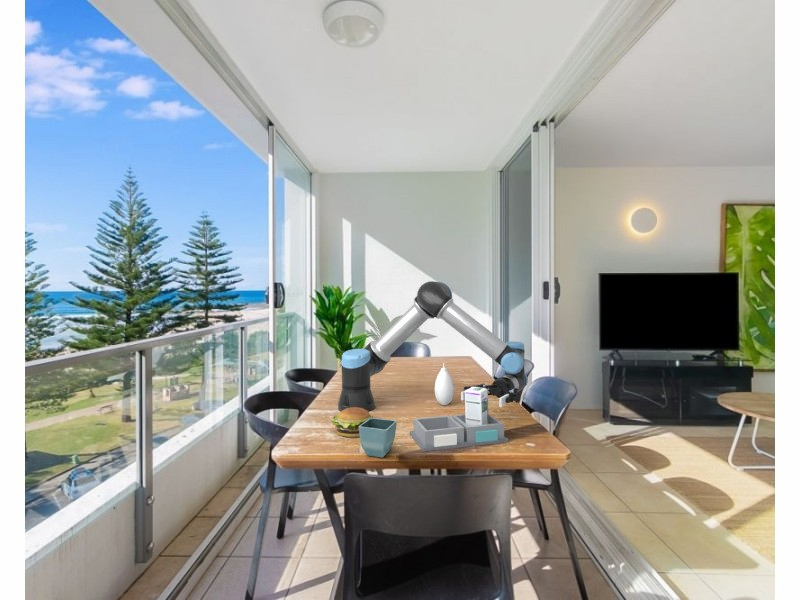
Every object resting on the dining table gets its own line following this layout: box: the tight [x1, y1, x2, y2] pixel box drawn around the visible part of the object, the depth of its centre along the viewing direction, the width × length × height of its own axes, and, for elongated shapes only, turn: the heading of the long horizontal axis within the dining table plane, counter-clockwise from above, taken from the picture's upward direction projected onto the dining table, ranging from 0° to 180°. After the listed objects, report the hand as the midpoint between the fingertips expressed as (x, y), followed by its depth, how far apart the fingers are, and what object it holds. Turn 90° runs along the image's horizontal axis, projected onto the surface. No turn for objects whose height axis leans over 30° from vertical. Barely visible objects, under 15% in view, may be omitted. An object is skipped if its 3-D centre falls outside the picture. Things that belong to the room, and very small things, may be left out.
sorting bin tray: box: [409, 413, 509, 453], centre depth 127 cm, size 28×15×6 cm, turn 104°
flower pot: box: [359, 417, 398, 458], centre depth 115 cm, size 9×9×9 cm
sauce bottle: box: [434, 364, 455, 407], centre depth 165 cm, size 8×8×18 cm
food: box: [331, 407, 374, 438], centre depth 134 cm, size 14×14×8 cm
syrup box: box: [464, 387, 489, 426], centre depth 129 cm, size 6×6×14 cm
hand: (480, 399), depth 130 cm, fingers open, 13 cm apart
